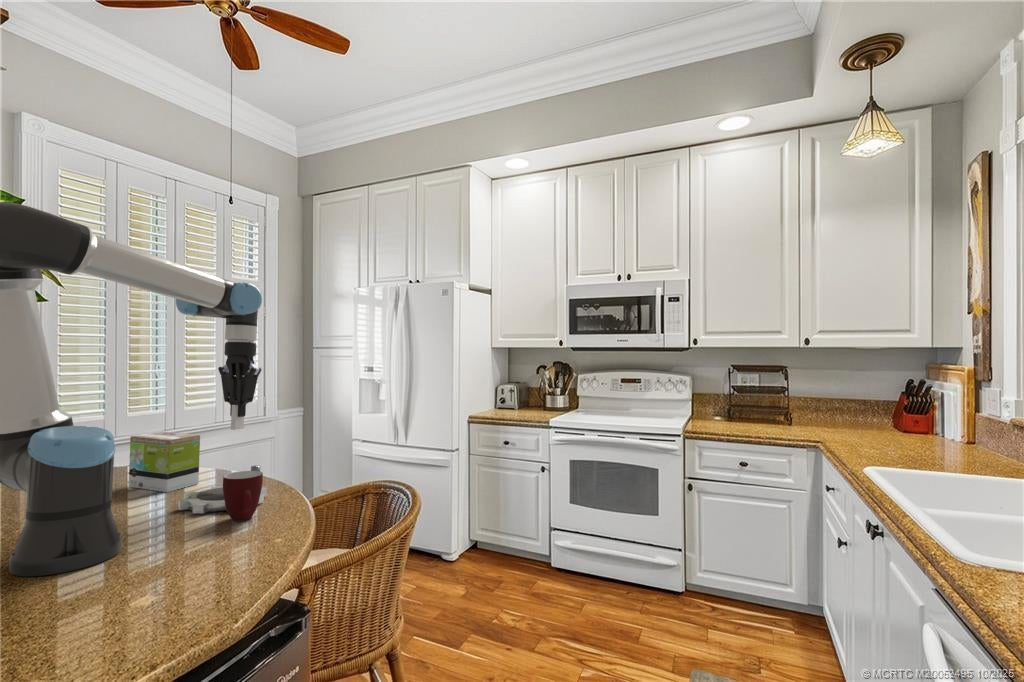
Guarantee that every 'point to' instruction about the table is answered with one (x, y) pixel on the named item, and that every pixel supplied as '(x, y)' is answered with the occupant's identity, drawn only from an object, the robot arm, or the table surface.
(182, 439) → the tea box
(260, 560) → the table surface
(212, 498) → the sprocket
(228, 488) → the mug
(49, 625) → the table surface
